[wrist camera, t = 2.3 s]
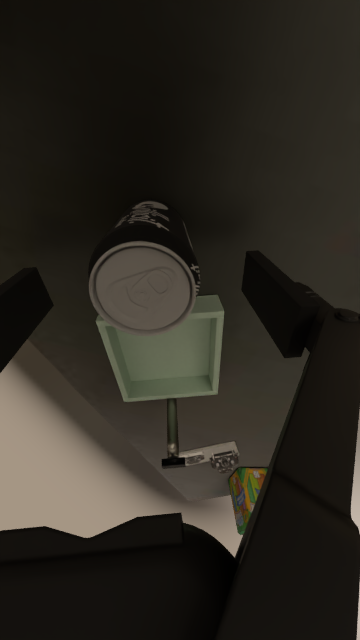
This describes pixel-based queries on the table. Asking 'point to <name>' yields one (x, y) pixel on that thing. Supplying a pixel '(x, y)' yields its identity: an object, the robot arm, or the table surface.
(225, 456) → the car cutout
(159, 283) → the beverage can
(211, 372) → the sink
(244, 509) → the chalk box
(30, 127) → the table surface
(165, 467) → the tap
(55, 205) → the table surface
